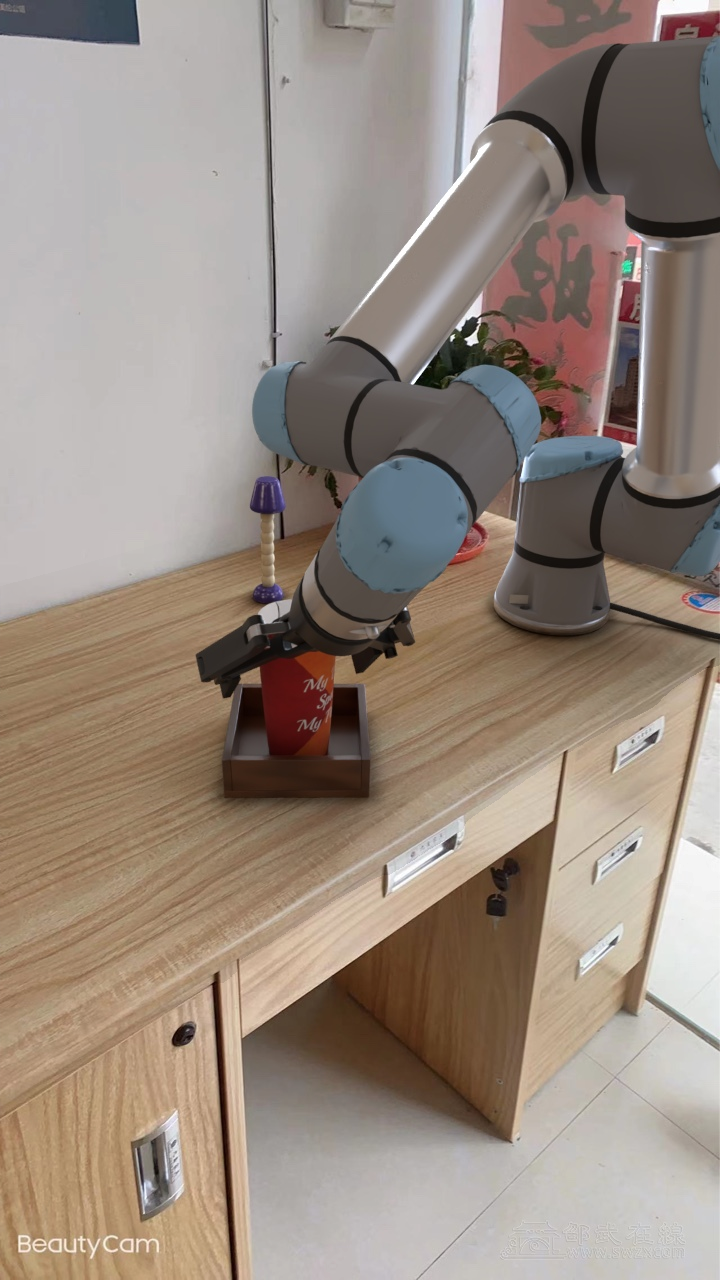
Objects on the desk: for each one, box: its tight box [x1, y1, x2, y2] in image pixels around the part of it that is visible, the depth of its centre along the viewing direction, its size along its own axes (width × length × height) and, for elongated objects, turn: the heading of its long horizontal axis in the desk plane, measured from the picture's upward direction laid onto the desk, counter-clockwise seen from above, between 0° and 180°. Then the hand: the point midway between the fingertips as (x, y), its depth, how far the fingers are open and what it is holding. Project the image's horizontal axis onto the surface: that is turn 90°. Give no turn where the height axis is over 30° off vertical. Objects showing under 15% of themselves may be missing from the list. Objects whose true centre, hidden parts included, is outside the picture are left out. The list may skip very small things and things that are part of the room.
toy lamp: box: [249, 475, 287, 604], centre depth 117 cm, size 5×5×17 cm
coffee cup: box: [257, 598, 337, 755], centre depth 85 cm, size 8×8×15 cm
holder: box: [221, 683, 371, 798], centre depth 88 cm, size 14×14×4 cm
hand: (291, 672), depth 87 cm, fingers open, 13 cm apart
